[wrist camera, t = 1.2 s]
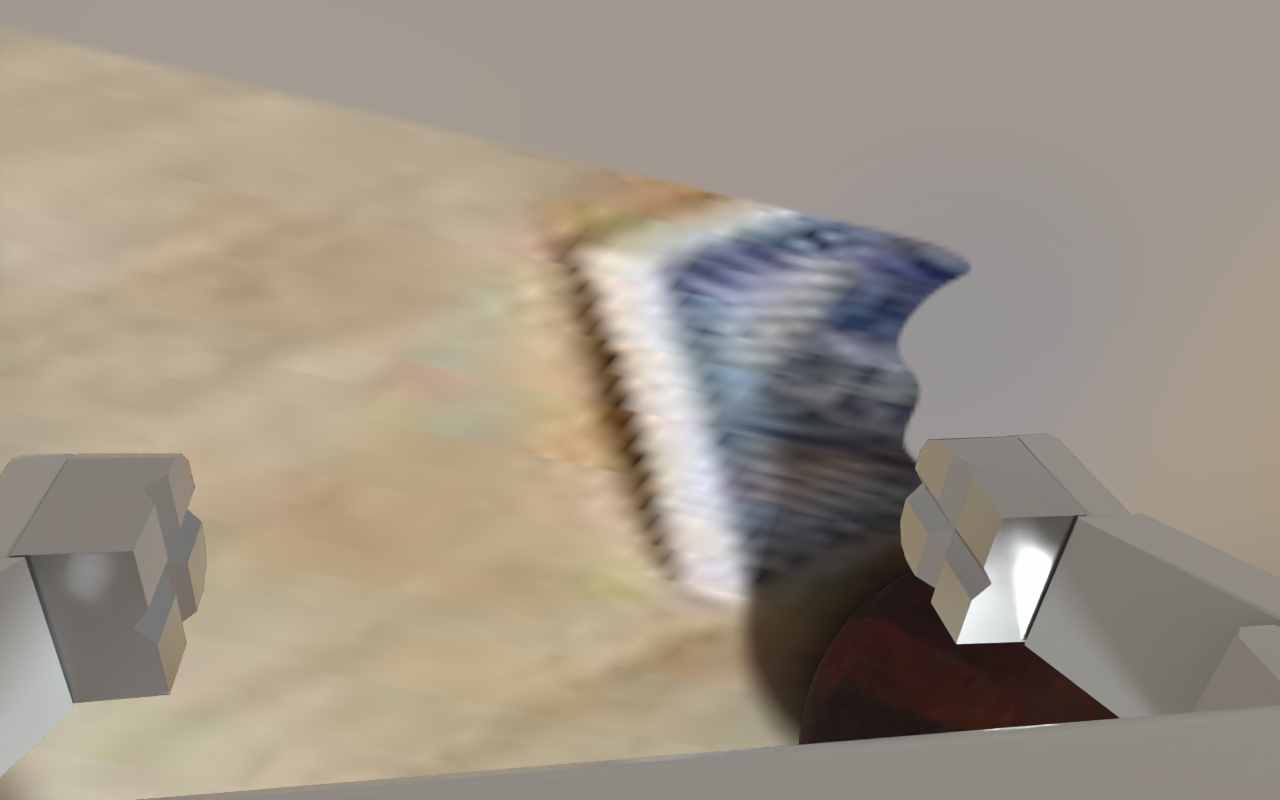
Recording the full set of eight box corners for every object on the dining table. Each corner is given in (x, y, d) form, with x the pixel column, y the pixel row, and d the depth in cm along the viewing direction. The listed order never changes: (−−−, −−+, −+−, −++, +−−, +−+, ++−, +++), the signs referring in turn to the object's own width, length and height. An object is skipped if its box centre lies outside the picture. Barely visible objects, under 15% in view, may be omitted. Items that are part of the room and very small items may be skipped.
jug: (1091, 700, 74) (1432, 961, 51) (824, 877, 70) (1064, 1242, 48) (1014, 443, 64) (1391, 623, 42) (700, 633, 61) (926, 944, 38)
